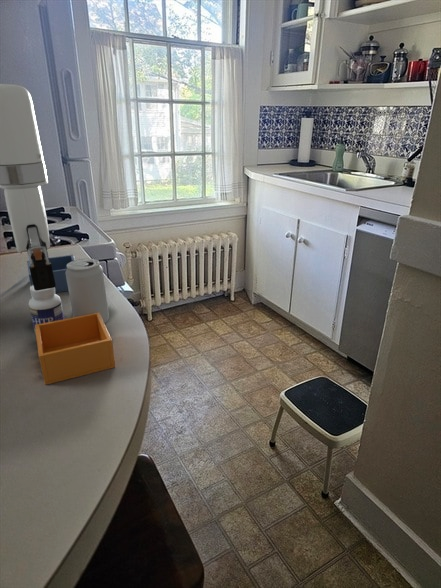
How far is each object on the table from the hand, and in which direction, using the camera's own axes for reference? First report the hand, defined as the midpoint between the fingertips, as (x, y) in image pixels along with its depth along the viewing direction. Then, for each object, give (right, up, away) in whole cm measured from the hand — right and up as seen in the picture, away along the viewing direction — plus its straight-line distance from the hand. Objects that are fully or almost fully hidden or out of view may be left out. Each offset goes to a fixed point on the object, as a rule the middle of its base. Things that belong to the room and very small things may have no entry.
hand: (43, 278), depth 67 cm
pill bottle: (-1, -10, +4) cm, 11 cm away
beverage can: (+6, -8, +7) cm, 13 cm away
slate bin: (-8, 0, +24) cm, 25 cm away
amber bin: (+7, -13, -4) cm, 15 cm away
